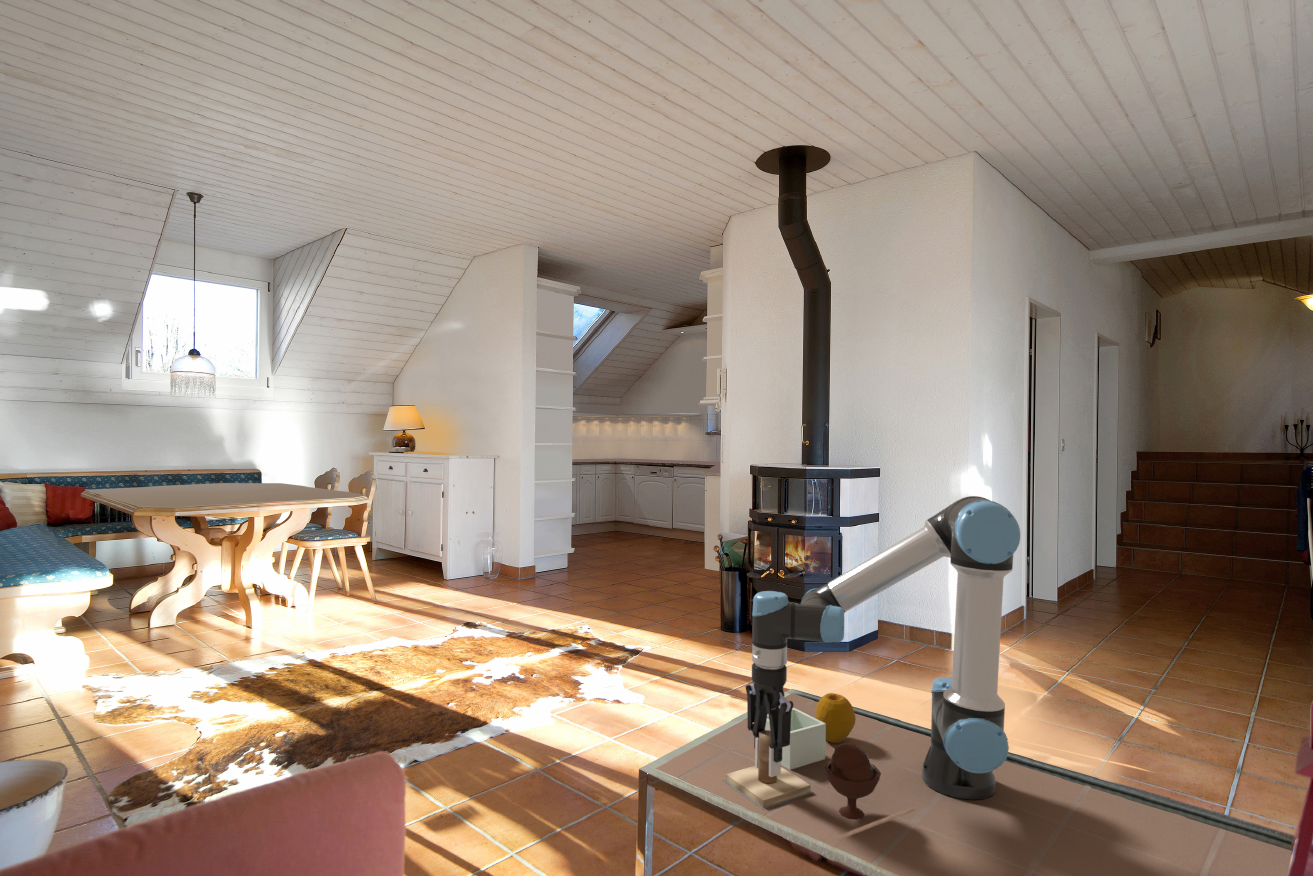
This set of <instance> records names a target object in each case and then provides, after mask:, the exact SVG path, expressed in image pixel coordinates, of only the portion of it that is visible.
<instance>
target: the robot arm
mask: <svg viewBox="0 0 1313 876" xmlns="http://www.w3.org/2000/svg"><path fill="white" fill-rule="evenodd" d="M1020 542H1021V528H1020V525H1019V523H1018V520H1017V519H1016V517H1015V515H1014V514H1012V512H1011V511H1010V510H1009V509H1008V508H1007V507H1006V506H1003V504H1001V503H999V502H996V501H993V500H990V499H988V498H985V497H983V496H978V495H970V496H965V497H962V498H960V499H957V500H956V501H954V502H953V503H951V504H949V505H948V506H946V507H945V508H944V509H942V510H940V511H938V512H937V513H936V514H935V515H933V516H931V517H929V518H927V519H926V520H925V522H924V525H923V527H922V528H920V529H918V530H917V531H915V532H913V533H911V534H910V535H908V536H906V537H904V538H902V539H901V540H899V541H898V542H896V543H894V544H892V545H890V546H889V547H887V548H886V549H884V550H882V551H880V552H879V553H877V554H875V555H873V556H871V557H870V558H868V559H867V560H865V561H863V562H862V563H860V564H858V565H857V566H854V567H853V568H851V569H849V570H847V571H846V572H844V573H843V574H841V575H839V576H837V577H836V578H834V579H833V580H830V581H829V582H827V583H826V584H824V585H822V586H820V587H818V588H817V587H816V588H811V589H809V590H808V591H807V592H806V593H805V594H804V596H803V597H802V598H801V601H800V604H799V603H792V602H789V598H788V595H787V594H786V593H784V592H781V591H776V590H775V591H774V590H766V591H765V590H763V591H760V592H757V593H756V594H755V595H754V596H753V601H752V603H753V604H752V614H751V615H752V626H751V627H752V629H751V630H752V631H751V632H752V638H751V640H752V641H751V642H752V643H751V644H752V649H751V650H752V651H751V653H752V654H751V659H752V660H751V661H752V664H751V681H752V682H753V683H751V684H747V685H745V693H746V696H747V697H746V699H747V706H746V707H747V709H746V710H747V730H748V731H751V732H752V735H753V738H754V739H753V744H754V745H753V747H754V751H755V752H754V766H755V767H756V768H758V763H759V732H760V731H764V730H765V727H766V720H767V715H769V723H770V732H771V741H772V744H771V745H769V776H770V777H773V776H777V775H780V774H781V767H782V765H781V761H782V748H783V747H785V746H789V745H790V730H791V711H792V708H794V701H792V700H790V701H788V699H786V698H785V697H786V696H785V691H784V686H785V685H786V683H787V674H788V671H787V670H788V668H787V666H786V665H787V663H788V639H789V640H797V641H798V640H799V641H800V640H801V641H811V642H819V643H820V642H822V643H823V642H824V643H825V644H826V643H840V642H842V641H844V639H845V613H847V612H848V611H849V610H851V609H854V608H855V607H858V606H859V605H860V604H862V603H864V602H867V601H868V600H869V599H871V598H873V597H875V596H877V595H878V594H880V593H881V592H884V591H885V590H887V589H889V588H890V587H892V586H894V585H895V584H897V583H900V582H901V581H903V580H905V579H906V578H908V577H910V576H911V575H913V574H915V573H916V572H919V571H920V570H922V569H924V568H926V567H928V566H929V565H931V564H933V563H935V562H937V561H938V560H939V559H942V558H943V557H946V558H949V559H950V560H949V561H950V563H949V564H950V565H951V566H952V567H953V569H955V570H956V572H957V579H956V598H955V599H956V601H955V615H954V632H953V633H954V634H953V636H954V638H953V653H952V654H953V655H952V656H953V657H952V673H951V674H952V675H951V676H940V677H937V678H934V680H933V681H932V685H931V686H932V687H931V690H930V693H931V720H930V721H931V723H930V725H931V726H930V729H931V730H930V736H931V737H930V745H929V748H928V751H927V753H926V755H925V758H924V761H923V763H922V768H921V769H922V770H921V771H922V772H921V778H922V780H923V782H924V783H925V784H926V786H928V787H929V788H931V789H932V790H935V791H936V792H938V793H940V794H943V795H945V794H946V796H948V795H950V796H949V797H953V798H957V799H962V800H963V799H964V800H983V799H987V798H990V797H991V796H990V795H991V794H993V793H994V794H995V792H996V777H995V774H994V773H993V771H995V770H997V769H998V768H999V767H1001V766H1002V765H1003V764H1004V763H1005V762H1006V759H1007V758H1008V755H1009V741H1008V736H1007V734H1006V732H1005V713H1006V712H1005V709H1006V703H1005V701H1004V700H1003V699H1002V698H1001V697H1000V696H999V695H998V684H999V669H1000V666H999V664H1000V649H1001V648H1000V647H1001V633H1002V631H1001V629H1002V615H1003V614H1002V612H1003V595H1004V578H1005V577H1006V576H1007V575H1008V574H1010V573H1011V572H1012V571H1013V568H1014V567H1013V565H1014V564H1013V563H1014V554H1015V553H1016V551H1017V550H1018V548H1019V545H1020ZM777 740H778V741H777ZM994 791H995V792H994ZM994 794H993V795H994ZM989 796H990V797H989ZM986 797H987V798H986Z"/></svg>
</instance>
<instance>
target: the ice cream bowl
mask: <svg viewBox="0 0 1313 876" xmlns="http://www.w3.org/2000/svg"><path fill="white" fill-rule="evenodd" d="M868 756H869V755H868V754H867V753H865V751H863V750H862V749H861V748H860V747H858V746H857V745H856V744H855V743H852V742H849V743H848V742H844V743H842V744H841V743H840V744H839V745H837V746H836V747H835V748H834V751H833V753H832V756H831V759H829V760H828V761H827V762H826V764H825V765H824V767H823V768H824V772H825V776H826V778H827V780H828V782H829V784H830V785H831V786H832V788H833V789H834V790H835V791H836V793H838V794H840V795H841V796H843V797H846V799H847V803H846V804H847V805H846V806H845V805H844V806H843V807H840V808H839V810H838V813H839V814H840V815H841V816H842V817H844V818H845V819H848V820H855V821H857V820H860V819H861V820H862V819H864V817H865V813H864V811H863V810H862V809H860V808H858V807H857V799H861V798H864V797H867V796H869V795H870V794H873V792H874V791H875V789H876V787H877V785H878V783H879V781H880V779H881V774H882V772H881V771H880V769H878V768H877V767H876V765H875V764H873V763H871V762H870V759H869V757H868Z"/></svg>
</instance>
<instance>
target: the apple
mask: <svg viewBox="0 0 1313 876" xmlns="http://www.w3.org/2000/svg"><path fill="white" fill-rule="evenodd" d="M855 713H856V712H855V710H854V708H853V705H852V704H851V702H850V700H848V698H847V697H845V696H843V695H841V694H839V693H833V692H830V693H829V692H828V693H826V694H824V695H823V696H822V697H821V698H820V699H819V701H818V702H817V704H816V707H815V719H817V720H819V721H821V722H823V723H825V724H826V741H828V742H829V743H832V744H840V743H842V742H843V741H845V740H846V739H847V737H848V736H849V735H850V733H851V732H852V730H853V729H854V726H855V725H856V714H855Z"/></svg>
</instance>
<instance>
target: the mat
mask: <svg viewBox="0 0 1313 876" xmlns="http://www.w3.org/2000/svg"><path fill="white" fill-rule="evenodd" d="M722 781H723V783H725V784H726V785H727V786H729V787H731V788H732V789H733V790H735V791H736V792H738V793H739V794H740V795H742V796H743V797H745V799H748V800H749V801H750V802H751V803H753V804H754V805H755V806H757V807H759V808H760V809H761V810H766V809H768V808H771V807H774V806H777V805H781V804H784V803H787V802H790V801H792V800H796V799H799V798H802V797H805V796H808V795H811V794H814V793H815V792H814V791H812V790H811V789H810V792H809V793H806V794H803V795H800V796H797V797H794V798H791V799H788V800H785V801H782V802H779V803H776V804H773V805H770V806H767V807H764V808H763V807H762V806H760V805H759V804H757V803H756V802H755V801H753V800H752V799H750V798H749V797H748V796H746V795H745V794H743V793H742V792H740V791H739V790H738V789H736V788H735V787H733V786H732V785H731V784H729V783H728V782H726V779H724V780H722Z"/></svg>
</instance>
